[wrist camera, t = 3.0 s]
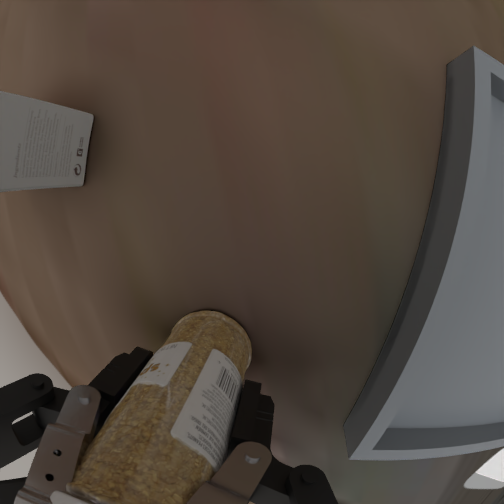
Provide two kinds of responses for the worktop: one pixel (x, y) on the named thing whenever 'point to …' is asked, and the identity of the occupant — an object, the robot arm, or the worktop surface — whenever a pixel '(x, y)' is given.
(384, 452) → the tray
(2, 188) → the skincare box
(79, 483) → the sprinkles bottle
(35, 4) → the worktop surface
